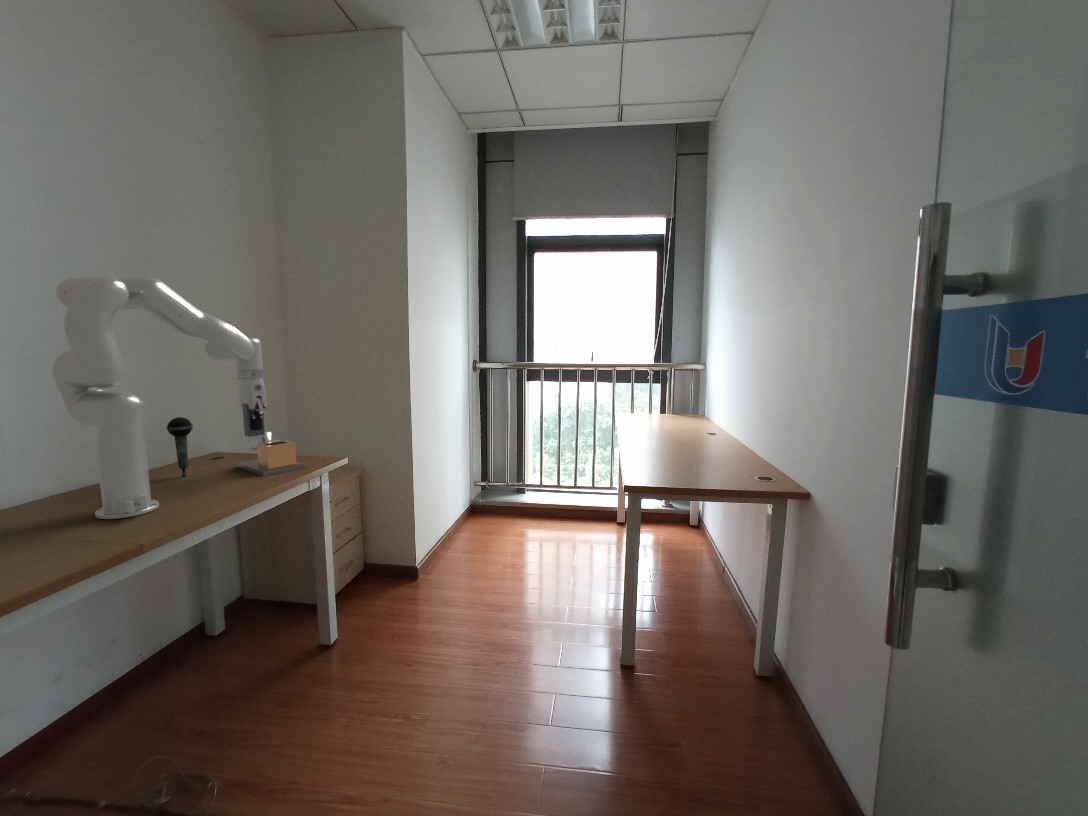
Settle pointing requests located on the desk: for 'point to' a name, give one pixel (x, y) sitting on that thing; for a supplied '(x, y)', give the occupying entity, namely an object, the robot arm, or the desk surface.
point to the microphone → (180, 439)
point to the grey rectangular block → (247, 422)
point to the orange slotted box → (272, 456)
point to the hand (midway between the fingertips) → (254, 428)
